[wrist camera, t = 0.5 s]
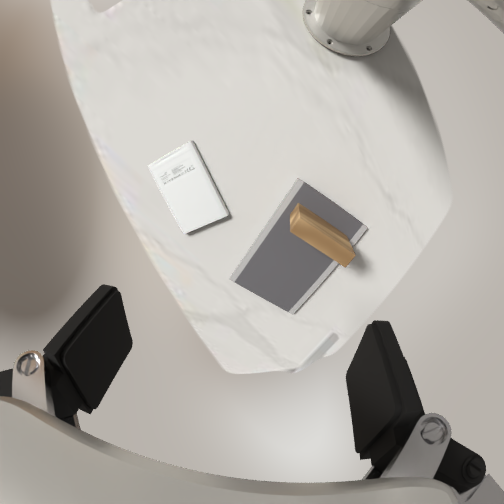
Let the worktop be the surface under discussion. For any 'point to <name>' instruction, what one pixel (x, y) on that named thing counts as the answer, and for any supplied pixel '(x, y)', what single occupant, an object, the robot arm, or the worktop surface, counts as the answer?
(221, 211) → the external hard drive
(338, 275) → the worktop surface
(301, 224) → the wooden block
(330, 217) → the mat
